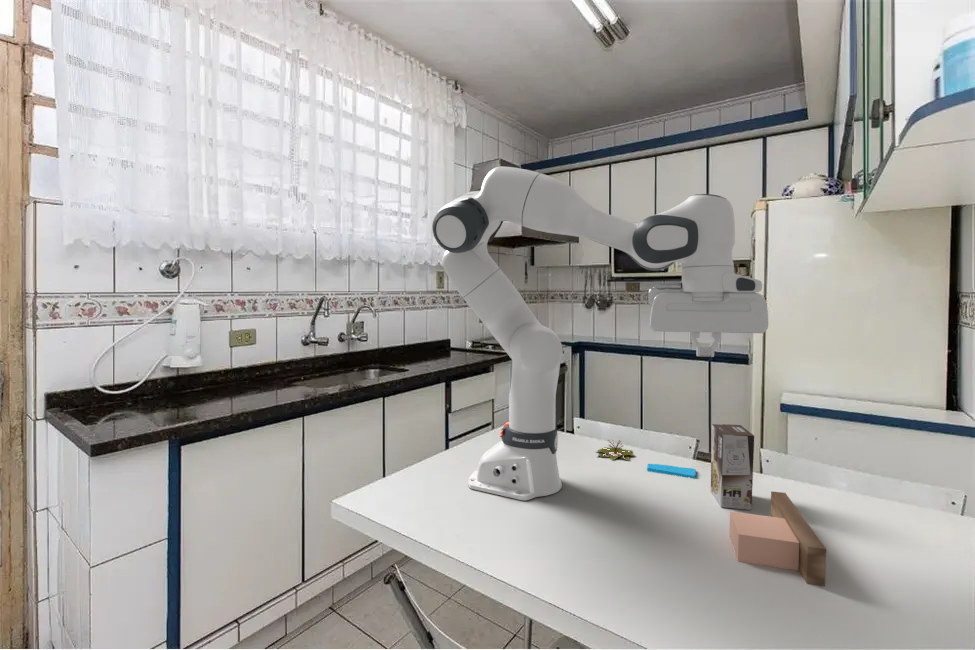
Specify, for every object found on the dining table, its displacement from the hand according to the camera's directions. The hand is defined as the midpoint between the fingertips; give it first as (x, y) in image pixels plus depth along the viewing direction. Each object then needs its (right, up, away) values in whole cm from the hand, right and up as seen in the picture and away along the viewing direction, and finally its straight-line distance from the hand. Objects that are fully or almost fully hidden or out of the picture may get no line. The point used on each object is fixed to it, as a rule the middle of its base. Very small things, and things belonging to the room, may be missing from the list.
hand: (705, 356), depth 90 cm
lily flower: (-5, -32, +46) cm, 56 cm away
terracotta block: (+8, -35, -5) cm, 36 cm away
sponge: (+6, -33, +33) cm, 47 cm away
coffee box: (+13, -33, +16) cm, 39 cm away
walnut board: (+14, -34, -4) cm, 37 cm away
